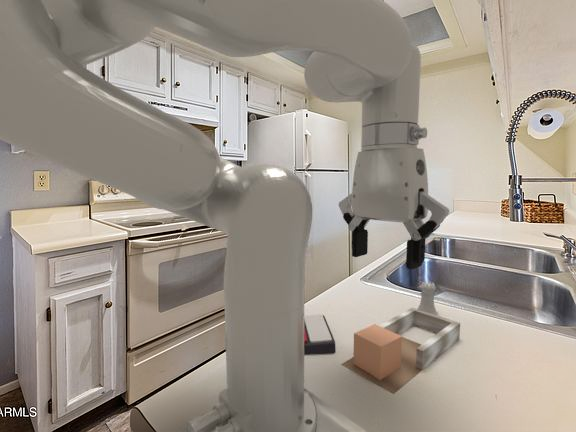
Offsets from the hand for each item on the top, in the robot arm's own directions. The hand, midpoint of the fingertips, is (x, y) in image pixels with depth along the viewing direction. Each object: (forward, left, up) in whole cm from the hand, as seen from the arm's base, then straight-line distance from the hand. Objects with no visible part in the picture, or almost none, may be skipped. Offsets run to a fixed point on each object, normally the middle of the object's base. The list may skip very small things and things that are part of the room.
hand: (384, 260), depth 46 cm
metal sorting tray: (+7, 0, -18) cm, 19 cm away
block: (0, +1, -17) cm, 17 cm away
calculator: (-5, +16, -19) cm, 25 cm away
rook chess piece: (+25, +5, -18) cm, 31 cm away
